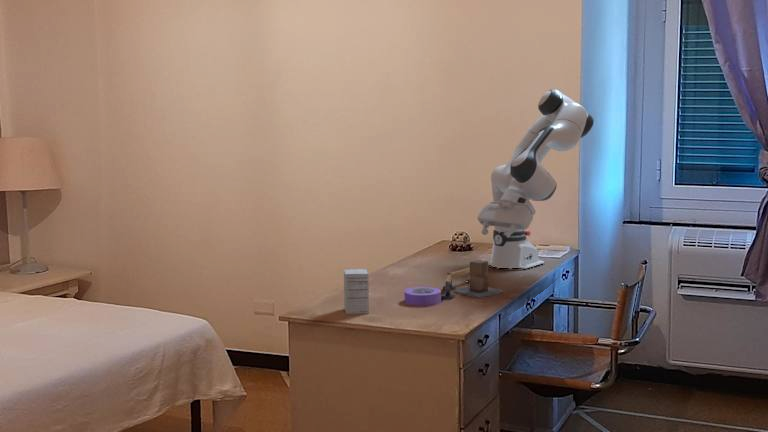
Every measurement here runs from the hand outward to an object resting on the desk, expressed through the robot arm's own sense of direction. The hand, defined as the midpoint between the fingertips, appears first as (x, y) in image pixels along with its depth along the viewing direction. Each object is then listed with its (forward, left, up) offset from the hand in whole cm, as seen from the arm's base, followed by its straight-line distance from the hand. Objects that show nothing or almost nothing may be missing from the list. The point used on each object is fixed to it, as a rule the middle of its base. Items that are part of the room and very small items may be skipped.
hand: (494, 235), depth 310 cm
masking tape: (+33, -1, -19) cm, 38 cm away
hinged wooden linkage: (+12, -7, -18) cm, 23 cm away
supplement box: (+57, -5, -19) cm, 60 cm away
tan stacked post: (+10, +2, -18) cm, 20 cm away
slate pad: (+10, +2, -18) cm, 21 cm away
